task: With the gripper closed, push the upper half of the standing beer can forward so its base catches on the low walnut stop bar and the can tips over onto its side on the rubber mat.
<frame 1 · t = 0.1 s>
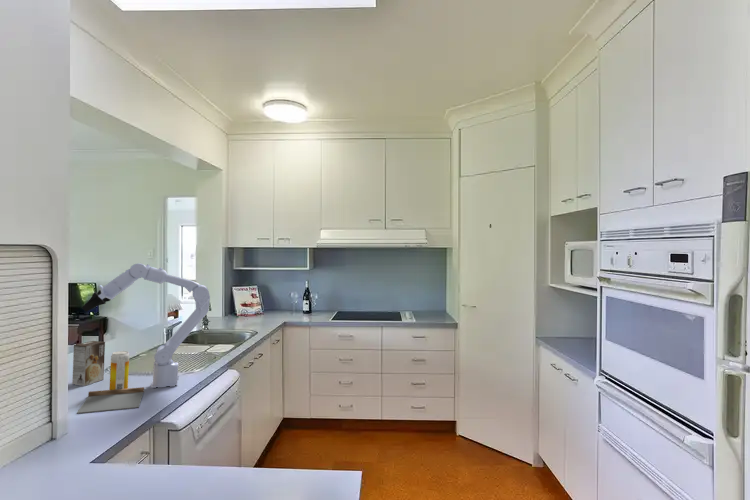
hand: (86, 308, 160), 32 cm above the counter, tool tilted 50°, fingers open, 7 cm apart
beer can: (118, 391, 161), on the counter
stop bar: (116, 394, 157), on the counter
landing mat: (112, 402, 149), on the counter
coffee box: (88, 382, 170), on the counter
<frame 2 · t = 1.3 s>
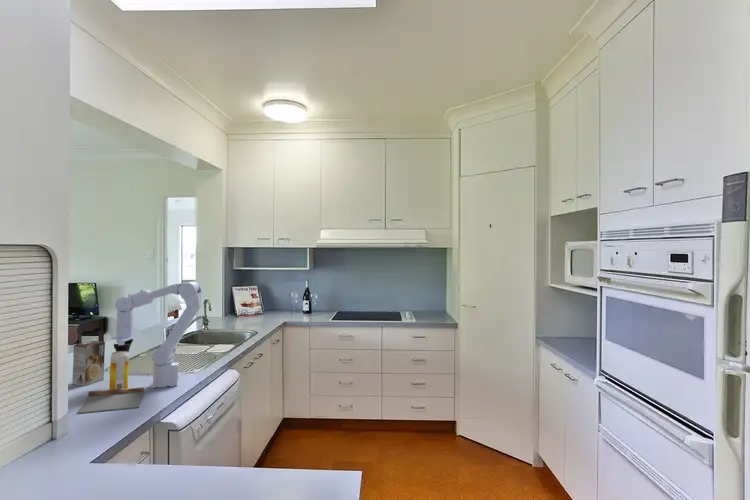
hand: (122, 359, 168), 10 cm above the counter, tool pointing down, fingers open, 6 cm apart
nothing on the counter moved.
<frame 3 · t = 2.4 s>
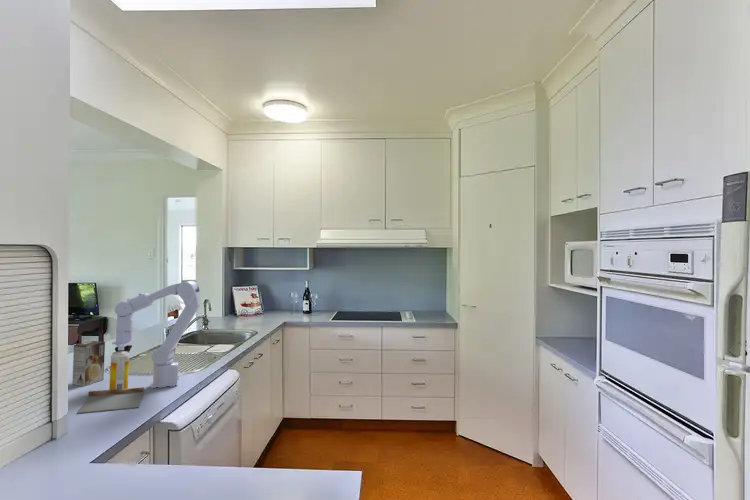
hand: (122, 364, 168), 8 cm above the counter, tool pointing down, fingers closed
nothing on the counter moved.
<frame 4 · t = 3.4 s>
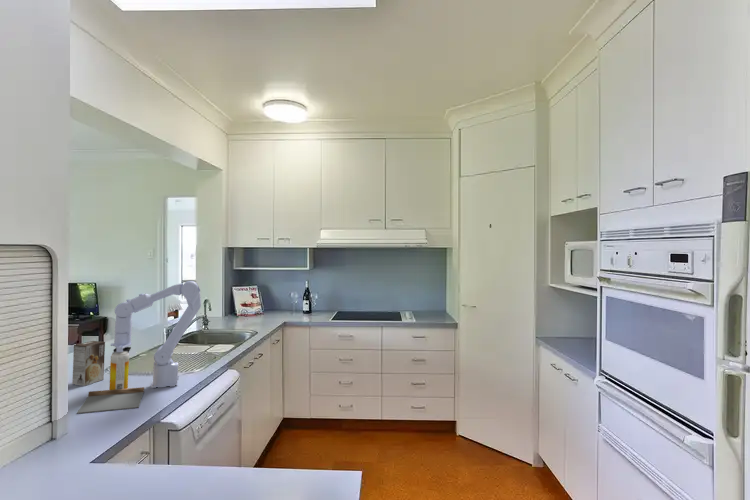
hand: (121, 366, 165), 8 cm above the counter, tool pointing down, fingers closed
beer can: (118, 391, 161), on the counter, touching gripper
everything else where it was.
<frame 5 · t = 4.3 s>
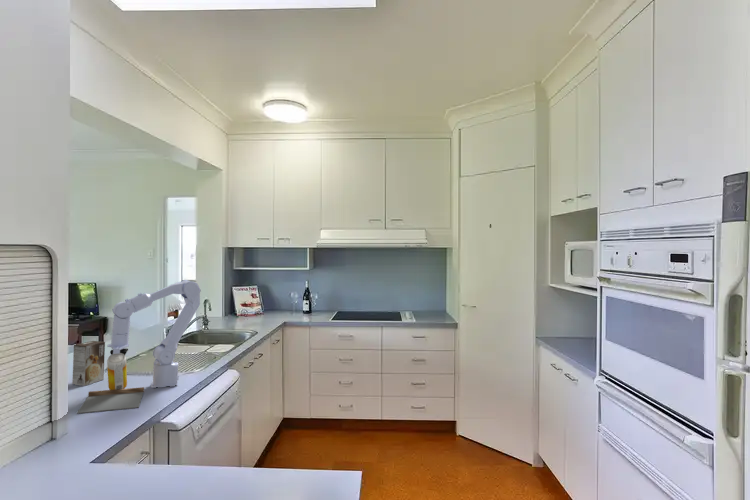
hand: (117, 368, 160), 9 cm above the counter, tool pointing down, fingers closed, pressing on beer can
beer can: (117, 387, 161), point 1 cm above the counter, touching gripper, stop bar
everything else where it was.
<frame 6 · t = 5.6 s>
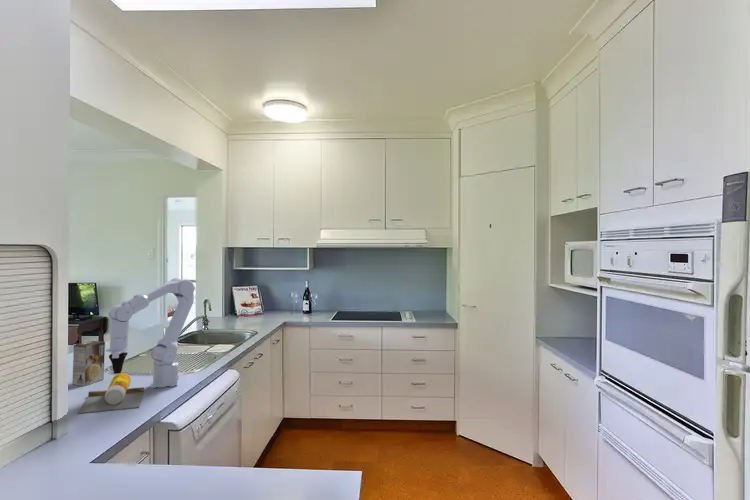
hand: (117, 373, 156), 8 cm above the counter, tool pointing down, fingers closed
beer can: (121, 379, 160), point 5 cm above the counter, touching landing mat, stop bar
everything else where it was.
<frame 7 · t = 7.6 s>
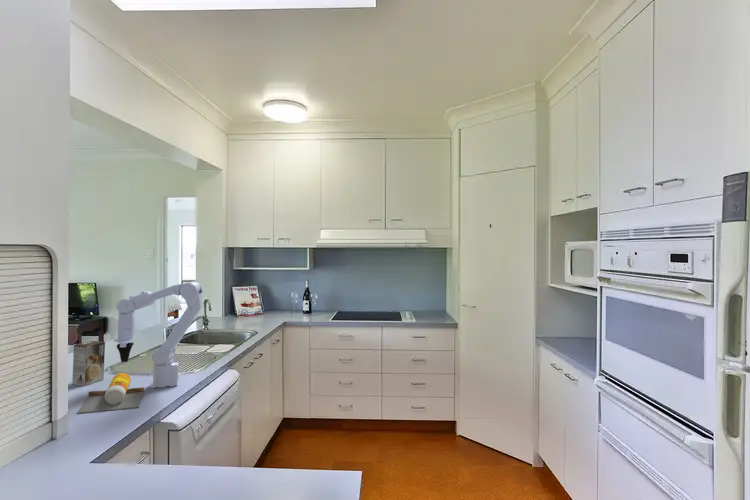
hand: (124, 361, 168), 10 cm above the counter, tool pointing down, fingers closed
nothing on the counter moved.
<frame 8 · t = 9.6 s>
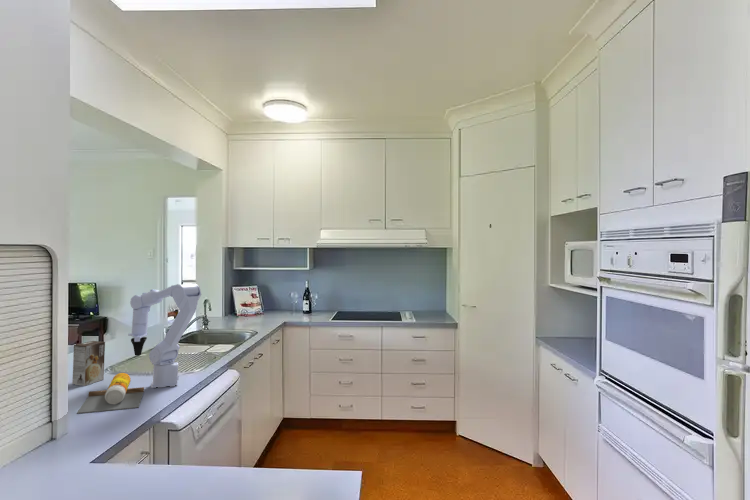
hand: (137, 355, 176), 10 cm above the counter, tool pointing down, fingers closed
nothing on the counter moved.
at the end: beer can tilted 97°; beer can touching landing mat, stop bar; the gripper is holding nothing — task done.
